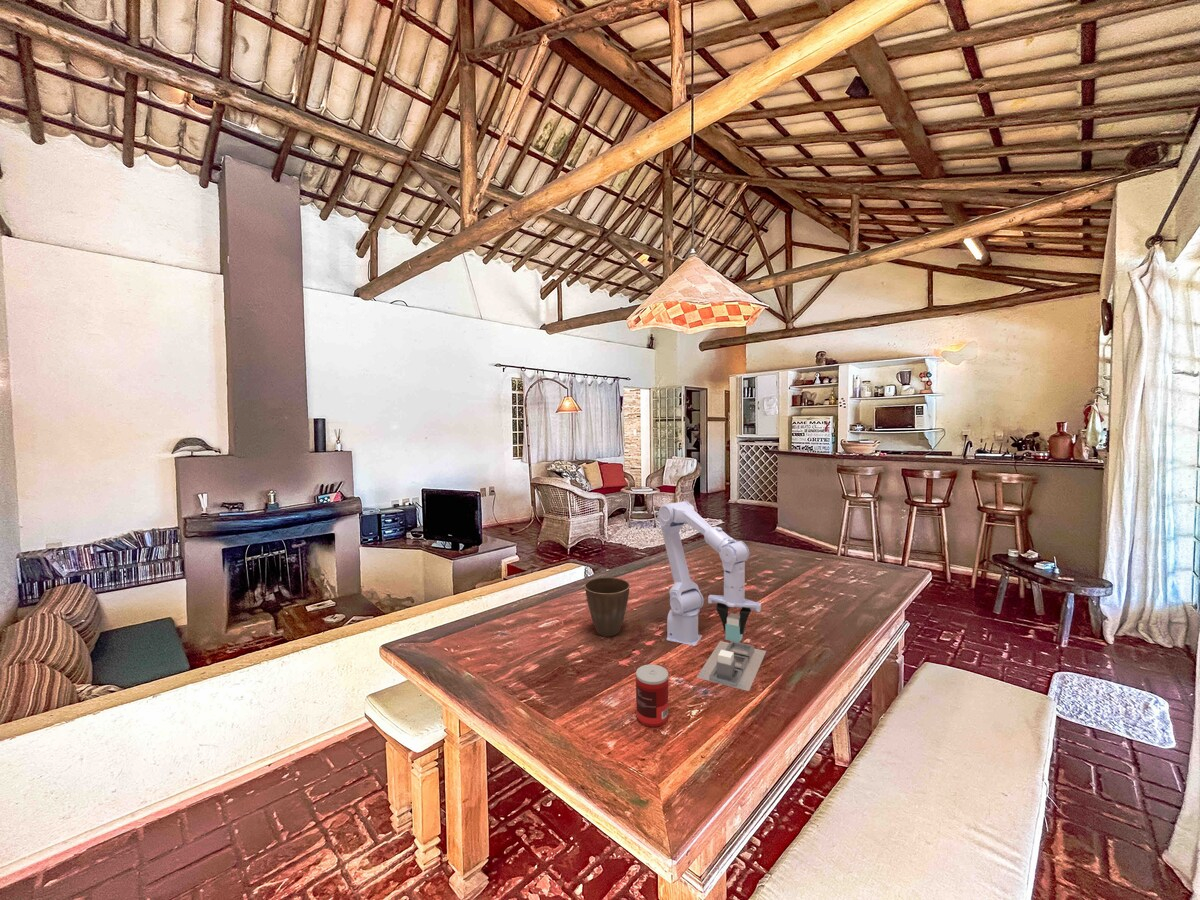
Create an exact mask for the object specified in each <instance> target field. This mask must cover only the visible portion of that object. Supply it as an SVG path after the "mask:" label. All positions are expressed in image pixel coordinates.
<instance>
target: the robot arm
mask: <svg viewBox="0 0 1200 900" xmlns="http://www.w3.org/2000/svg"><path fill="white" fill-rule="evenodd" d="M695 510H696V509H695V506H694V505H692V504H691V503H690V502H689V501H687V500H683V501H678V502H671V503H663V504H662V505H661V506H660V507H659V510H658V511H657V517H658V520H659V525H660V528H661V530H660V531H661V534H662V538H663V542H664V546H665V551H666V554H667V560H668V562H669V567H670V570H671V571H670V572H671V576H672V580H673V585H672V587H670V589H669V591H668V593H669V607H670V608H671V609H669V611H668V614H667V619H666V623H667V624H666V630H667V632H666V633H667V634H666V635H667V636H666V642H672V643H673V642H675V643H680V644H685V645H689V646H693V647H695V646H696V645H697V644H698V643H699V641H700V640H701V639H702V637H703V635H702V634H699V613H700V611H701V608H703V605H704V601H705V600H704V596H703V594H702V593H701V591H700V588H699V585H698V584H697V583H696V582H695V581H693V580H692V579H691V575H690V571H689V567H688V564H687V563H688V562H687V559H686V555H685V551H684V548H683V543H682V540H681V535H680V532H681V529H682V527H683V526H685V525H686V524H688V525H689V526H690V527H692V528H693V529H694V530H695V531H697V532H699V533H700V534H701V535H703V537H704V541H705V543H706V544H708V545H709V546H710V547H711V548H712V549H713V550H714V551H716V552H717V553H718V554H719V555H718V556H719V558H720V561H721V563H722V569H723V595H719V594H718V595H717V594H709V595H708V597H707V598H708V599H707V603H708V604H716V611H717V613H718V615H719V617H720V620H721V624H722V628H723V631H725V624H726V623H727V616H728V615H729V607H730V608H738V609H739V608H740V610H739V615H740V634H743V635H744V634H745V629H746V624H747V621H748V618H749V615H750V614H751V612H752V611H755V612H757V613H760V612H761V611H762V603H761V602H757V601H754V600H751V599H747V598H745V593H746V592H745V588H746V587H745V586H746V585H745V583H746V581H745V579H746V575H745V574H746V573H745V572H746V561H748V559H749V557H750V550H749V548H748V545H747V544H745V542H744V541H742V540H736V539H734V538H733V537H731V536H730V535H728V534H727V533H726V532H725V531H723V528H722V527H721V526H712V525H711V524H709V523H708V522H707V521H706V519H704V518H703V517H702V516H701V514H699V513H698V512H697V511H695Z"/></svg>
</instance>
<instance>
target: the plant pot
mask: <svg viewBox="0 0 1200 900" xmlns="http://www.w3.org/2000/svg"><path fill="white" fill-rule="evenodd" d="M630 586H631V584H630V583H629V582H628V581H627V580H625V579H622V578H617V577H599V578H594V579H591V580H588V581H587V582H586V583H585V584H584V589H585V597H586V601H587V606H588V610H589V613H590V614H589V615H590V616H591V620H592V624H593V625H594V628H595V630H596V633H597V634H598V635H600V636H601V637H614V636H616V635H618V634H619V632H620V630H621V627H622V626H623V625H622V624H623V622H624V618H625V614H626V612H627V607H628V601H629V594H630V588H631V587H630Z"/></svg>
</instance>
